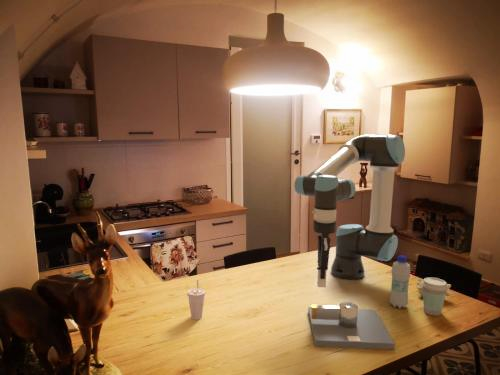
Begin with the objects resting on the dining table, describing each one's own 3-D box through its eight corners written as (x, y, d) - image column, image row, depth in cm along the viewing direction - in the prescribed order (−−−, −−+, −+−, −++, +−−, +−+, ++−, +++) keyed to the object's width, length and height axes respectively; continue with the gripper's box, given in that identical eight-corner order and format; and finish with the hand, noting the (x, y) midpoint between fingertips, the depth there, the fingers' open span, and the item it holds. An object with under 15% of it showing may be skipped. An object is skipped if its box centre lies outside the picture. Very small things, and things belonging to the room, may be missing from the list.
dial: (354, 319, 128) (355, 302, 127) (358, 328, 122) (359, 310, 121) (310, 317, 129) (311, 300, 128) (312, 326, 123) (312, 309, 122)
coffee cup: (450, 316, 135) (453, 285, 133) (429, 318, 133) (431, 286, 131) (435, 305, 143) (437, 276, 141) (414, 307, 141) (417, 277, 140)
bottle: (409, 310, 139) (413, 259, 136) (390, 308, 140) (394, 257, 137) (405, 302, 145) (409, 253, 142) (387, 301, 146) (391, 252, 144)
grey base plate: (308, 312, 137) (308, 306, 136) (374, 314, 135) (375, 308, 135) (315, 346, 115) (315, 339, 115) (394, 349, 114) (394, 342, 113)
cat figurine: (417, 276, 156) (449, 275, 149) (422, 290, 158) (453, 290, 151) (415, 288, 150) (447, 287, 143) (419, 303, 151) (452, 303, 144)
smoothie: (200, 323, 128) (200, 284, 126) (184, 319, 130) (183, 281, 128) (208, 314, 134) (208, 277, 132) (193, 311, 136) (192, 275, 134)
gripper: (311, 216, 134) (308, 278, 137) (315, 224, 121) (312, 293, 124) (332, 216, 134) (329, 279, 137) (339, 225, 121) (335, 294, 124)
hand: (321, 286), depth 131 cm, fingers closed
